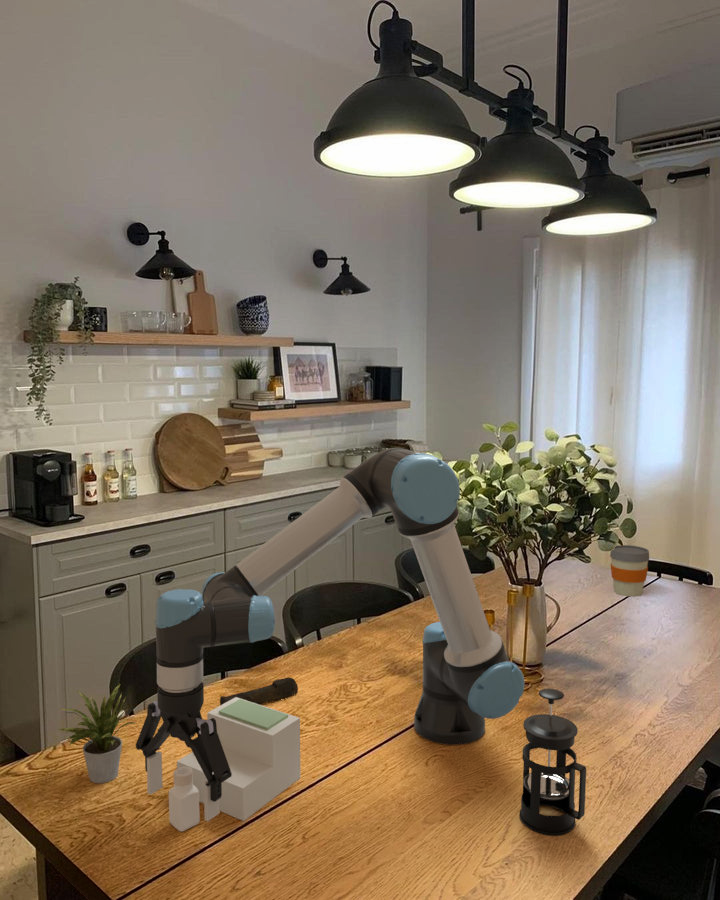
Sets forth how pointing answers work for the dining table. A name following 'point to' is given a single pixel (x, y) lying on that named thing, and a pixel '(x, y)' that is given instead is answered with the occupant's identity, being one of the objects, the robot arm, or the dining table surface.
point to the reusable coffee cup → (629, 569)
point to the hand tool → (267, 692)
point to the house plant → (100, 738)
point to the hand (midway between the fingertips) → (182, 803)
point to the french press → (551, 773)
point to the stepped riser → (252, 755)
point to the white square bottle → (183, 800)
